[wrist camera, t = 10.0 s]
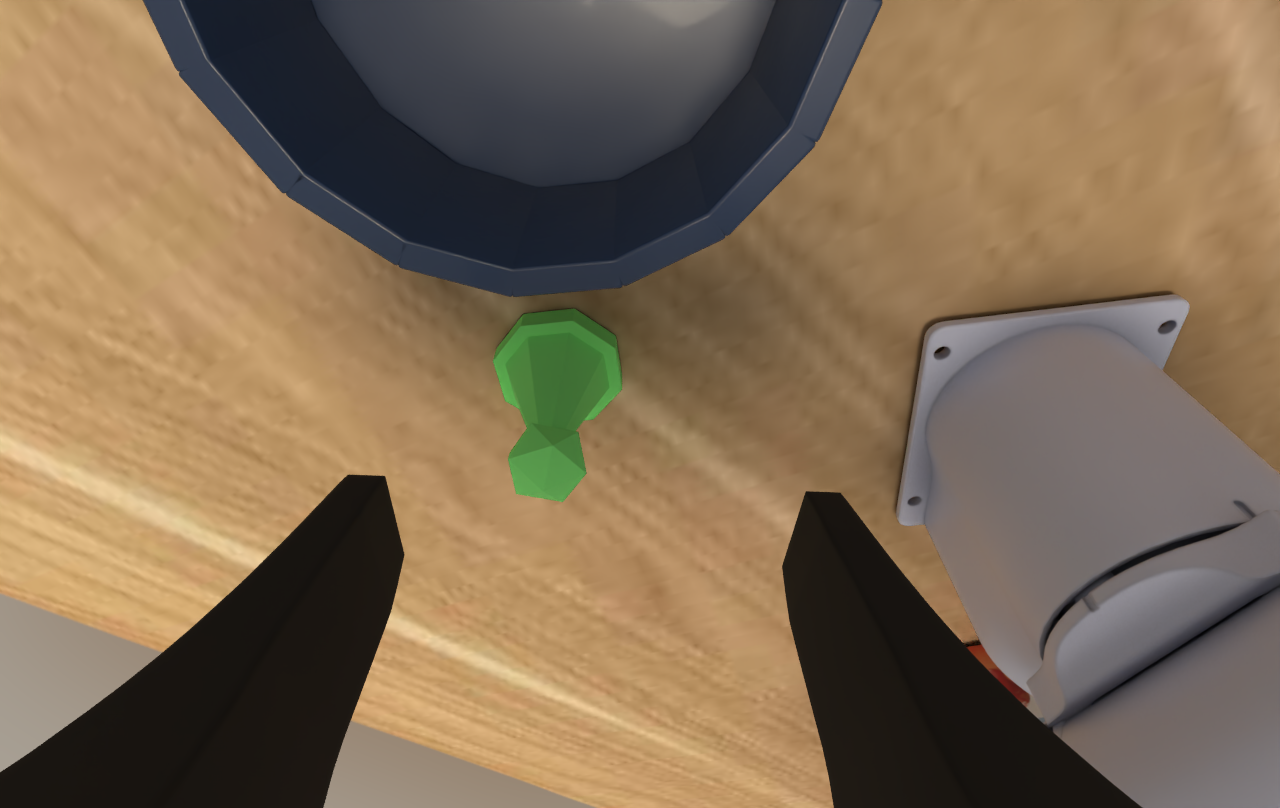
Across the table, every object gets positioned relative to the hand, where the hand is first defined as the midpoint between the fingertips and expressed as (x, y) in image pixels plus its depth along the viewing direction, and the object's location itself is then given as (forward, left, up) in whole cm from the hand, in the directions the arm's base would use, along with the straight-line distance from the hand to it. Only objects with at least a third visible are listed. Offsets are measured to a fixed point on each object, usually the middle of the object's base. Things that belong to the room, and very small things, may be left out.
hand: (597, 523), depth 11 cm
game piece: (-3, +2, -11) cm, 11 cm away
